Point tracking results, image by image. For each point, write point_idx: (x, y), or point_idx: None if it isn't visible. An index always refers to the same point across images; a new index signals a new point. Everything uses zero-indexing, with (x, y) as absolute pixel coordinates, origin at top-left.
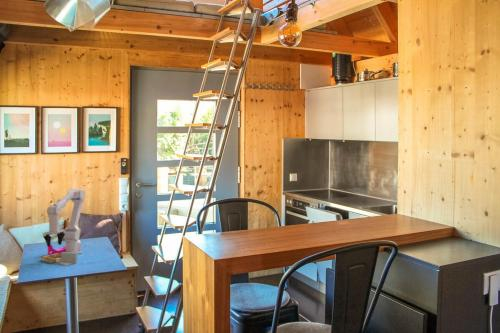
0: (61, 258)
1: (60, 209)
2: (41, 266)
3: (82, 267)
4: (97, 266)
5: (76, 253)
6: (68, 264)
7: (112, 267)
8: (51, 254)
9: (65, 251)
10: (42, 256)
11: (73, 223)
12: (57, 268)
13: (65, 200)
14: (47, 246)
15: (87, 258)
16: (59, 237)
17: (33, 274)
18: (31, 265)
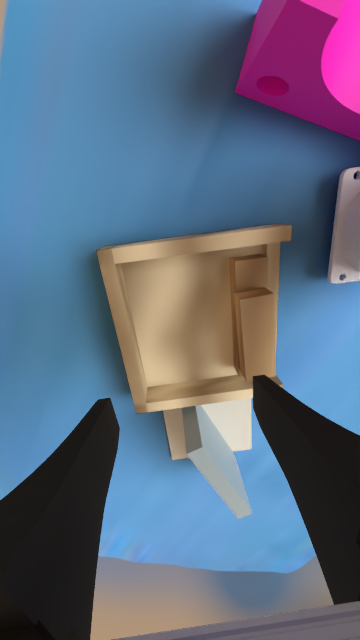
0: (183, 418)
1: None
2: (55, 397)
3: (201, 518)
4: (250, 534)
5: (245, 513)
6: (183, 457)
7: (272, 565)
8: (201, 237)
9: None
10: (104, 257)
11: None
12: (111, 478)
13: None
14: (96, 403)
15: (338, 400)
16: (306, 486)
17: None
18: (4, 333)
